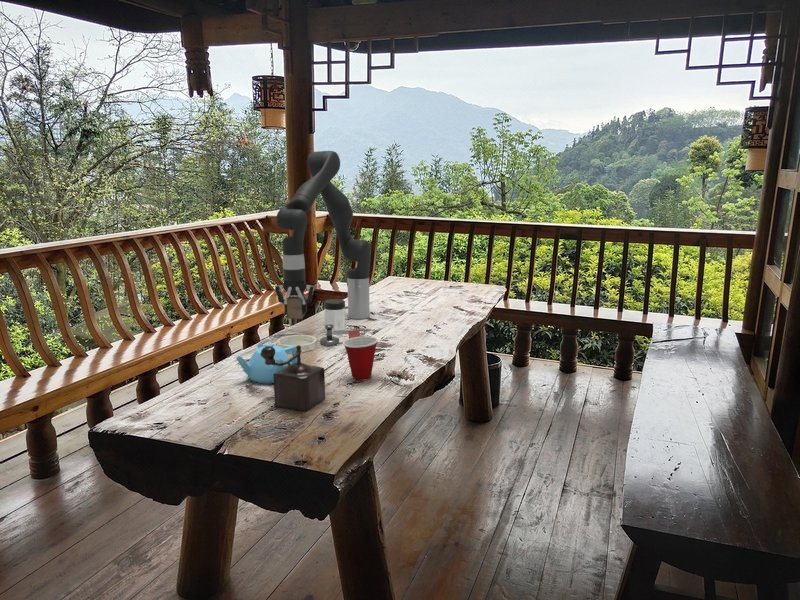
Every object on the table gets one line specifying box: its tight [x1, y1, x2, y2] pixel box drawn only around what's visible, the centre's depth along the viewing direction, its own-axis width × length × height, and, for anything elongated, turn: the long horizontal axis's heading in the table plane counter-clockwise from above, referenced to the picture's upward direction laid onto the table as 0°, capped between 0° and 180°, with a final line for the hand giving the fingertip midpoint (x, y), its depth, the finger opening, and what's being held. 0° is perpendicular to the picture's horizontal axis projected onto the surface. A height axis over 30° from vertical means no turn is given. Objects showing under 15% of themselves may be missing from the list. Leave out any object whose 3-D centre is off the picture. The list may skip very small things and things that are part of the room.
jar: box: [323, 298, 346, 334], centre depth 234 cm, size 9×8×12 cm
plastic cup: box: [342, 335, 379, 381], centre depth 183 cm, size 11×11×12 cm
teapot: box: [235, 342, 302, 385], centre depth 183 cm, size 15×15×11 cm
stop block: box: [286, 295, 305, 320], centre depth 211 cm, size 5×5×7 cm
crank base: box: [319, 324, 340, 347], centre depth 218 cm, size 7×7×7 cm
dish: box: [276, 334, 318, 354], centre depth 214 cm, size 14×14×3 cm
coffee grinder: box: [260, 345, 326, 413], centre depth 161 cm, size 16×11×18 cm
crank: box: [332, 329, 361, 339], centre depth 219 cm, size 10×2×4 cm, turn 98°
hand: (296, 313), depth 212 cm, fingers closed on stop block, 5 cm apart
